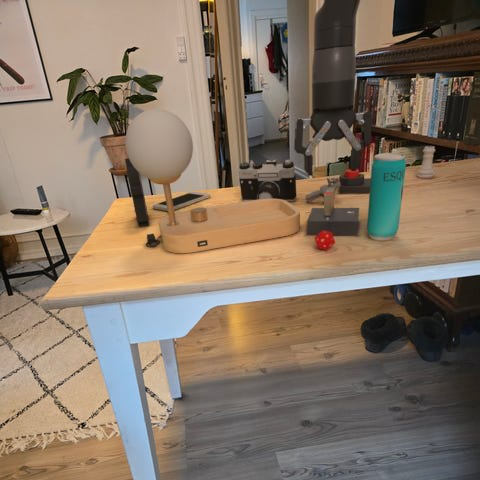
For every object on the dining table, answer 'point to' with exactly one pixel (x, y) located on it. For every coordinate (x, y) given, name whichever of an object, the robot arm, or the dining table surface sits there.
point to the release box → (354, 184)
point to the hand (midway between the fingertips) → (331, 172)
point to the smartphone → (183, 200)
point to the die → (324, 240)
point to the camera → (267, 180)
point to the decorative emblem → (137, 194)
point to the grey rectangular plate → (329, 201)
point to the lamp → (199, 219)
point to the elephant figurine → (323, 189)
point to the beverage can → (385, 195)
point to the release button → (351, 173)
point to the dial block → (333, 221)
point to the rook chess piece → (427, 163)
